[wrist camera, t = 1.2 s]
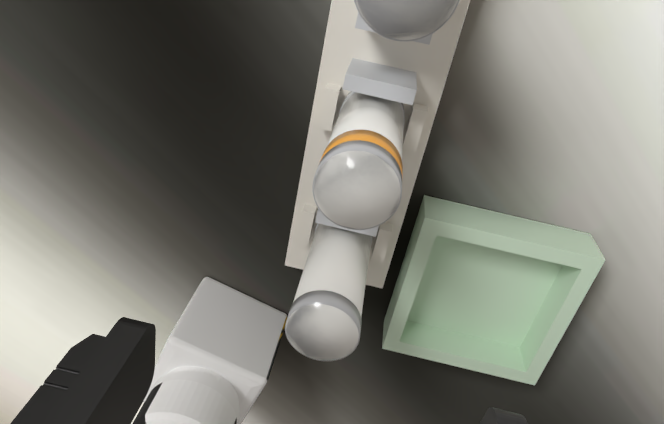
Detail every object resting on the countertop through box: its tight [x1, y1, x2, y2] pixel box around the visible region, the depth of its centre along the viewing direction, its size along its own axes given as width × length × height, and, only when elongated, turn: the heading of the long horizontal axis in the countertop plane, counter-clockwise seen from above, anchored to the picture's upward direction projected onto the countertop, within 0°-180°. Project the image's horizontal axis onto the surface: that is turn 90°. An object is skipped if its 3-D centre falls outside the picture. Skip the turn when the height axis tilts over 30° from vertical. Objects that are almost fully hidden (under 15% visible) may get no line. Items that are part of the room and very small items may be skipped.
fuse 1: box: [285, 223, 373, 361], centre depth 30 cm, size 4×4×10 cm
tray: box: [382, 195, 605, 385], centre depth 35 cm, size 11×11×3 cm
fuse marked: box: [312, 91, 405, 230], centre depth 26 cm, size 4×4×10 cm
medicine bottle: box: [133, 277, 287, 424], centre depth 36 cm, size 7×7×12 cm
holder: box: [285, 0, 471, 289], centre depth 29 cm, size 7×24×5 cm, turn 169°
